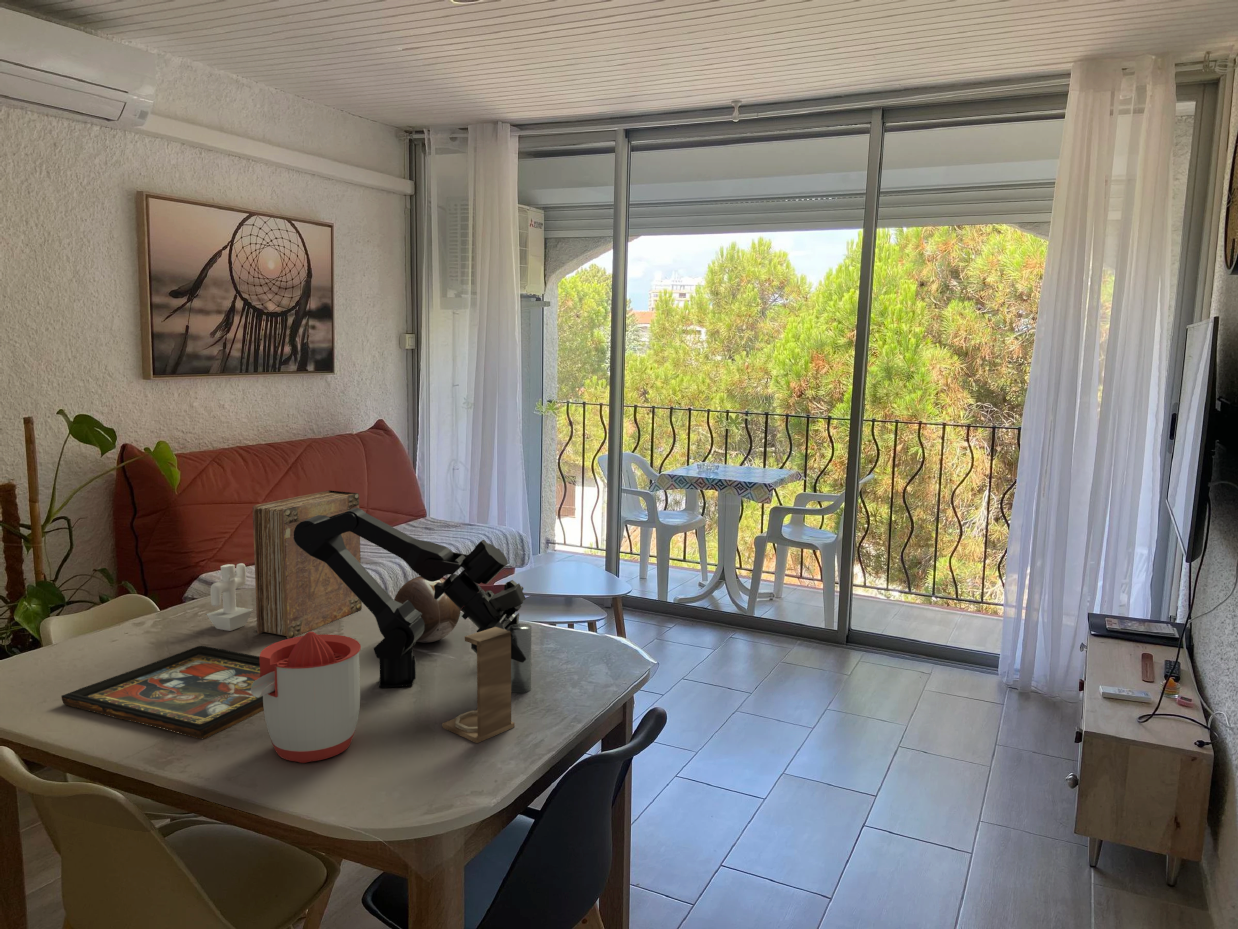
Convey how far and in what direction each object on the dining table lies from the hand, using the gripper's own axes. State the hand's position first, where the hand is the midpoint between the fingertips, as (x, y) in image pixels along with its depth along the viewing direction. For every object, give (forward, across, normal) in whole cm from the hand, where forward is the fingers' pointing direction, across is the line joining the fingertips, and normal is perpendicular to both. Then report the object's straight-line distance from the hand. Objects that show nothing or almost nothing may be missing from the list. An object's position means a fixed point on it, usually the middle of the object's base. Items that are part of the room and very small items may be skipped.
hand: (527, 656), depth 170 cm
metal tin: (+4, 0, +6) cm, 7 cm away
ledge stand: (+1, -18, +8) cm, 20 cm away
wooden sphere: (-15, +25, +25) cm, 38 cm away
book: (-38, +34, +47) cm, 69 cm away
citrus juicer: (-16, -30, +26) cm, 43 cm away
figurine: (-50, +27, +59) cm, 82 cm away
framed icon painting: (-38, -10, +49) cm, 63 cm away
